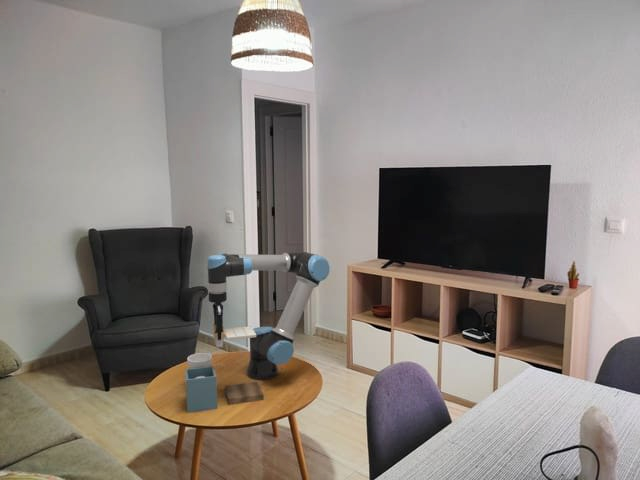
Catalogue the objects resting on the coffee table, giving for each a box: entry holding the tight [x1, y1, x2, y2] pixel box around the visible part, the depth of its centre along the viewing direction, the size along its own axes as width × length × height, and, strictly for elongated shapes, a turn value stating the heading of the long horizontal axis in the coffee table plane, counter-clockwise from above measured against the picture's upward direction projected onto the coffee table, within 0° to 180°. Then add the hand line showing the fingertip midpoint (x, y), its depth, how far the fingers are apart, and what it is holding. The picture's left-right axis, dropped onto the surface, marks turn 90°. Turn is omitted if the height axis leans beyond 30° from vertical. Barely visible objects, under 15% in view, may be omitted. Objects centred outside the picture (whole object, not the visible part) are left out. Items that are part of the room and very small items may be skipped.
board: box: [224, 381, 265, 406], centre depth 219 cm, size 15×14×2 cm
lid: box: [212, 324, 256, 342], centre depth 214 cm, size 17×12×6 cm
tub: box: [184, 365, 218, 414], centre depth 210 cm, size 12×12×14 cm
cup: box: [186, 352, 213, 369], centre depth 227 cm, size 11×11×14 cm
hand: (218, 344), depth 213 cm, fingers closed on lid, 3 cm apart
